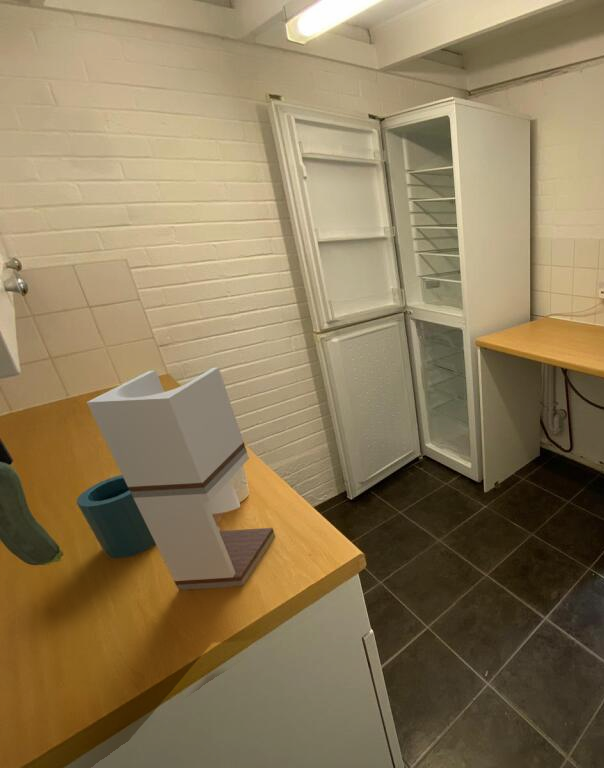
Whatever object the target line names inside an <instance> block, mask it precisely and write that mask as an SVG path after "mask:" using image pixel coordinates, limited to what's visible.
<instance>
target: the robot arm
mask: <svg viewBox="0 0 604 768" xmlns="http://www.w3.org/2000/svg"><path fill="white" fill-rule="evenodd" d="M0 462H3V463H7V464H9V465H10V466H11V465H12V464H13V463H14V459H13V457H12V455H11V454H10V452H9V450H8V449H7V447H6V445H5V443H4V441H3V440H2V439H1V438H0Z"/></svg>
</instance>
